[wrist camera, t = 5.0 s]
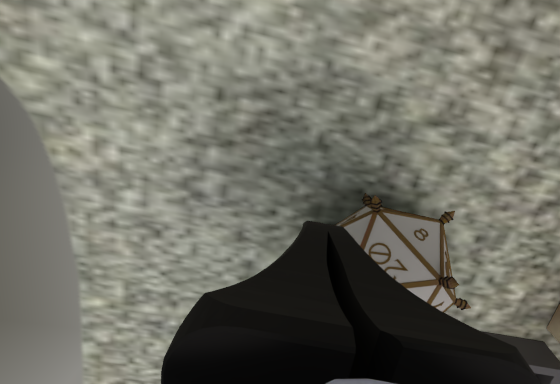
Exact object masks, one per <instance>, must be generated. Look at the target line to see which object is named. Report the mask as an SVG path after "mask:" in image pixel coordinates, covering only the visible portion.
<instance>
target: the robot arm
mask: <svg viewBox="0 0 560 384" xmlns="http://www.w3.org/2000/svg"><path fill="white" fill-rule="evenodd" d="M161 384H542V383H541V382H540V381H539V379H538V378H537V376H536V375H535V373H534V372H533V371H532V369H531V368H530V366H529V365H528V363H527V362H526V360H525V359H524V358H523V356H522V355H521V353H520V352H519V351H518V349H517V348H516V347H515V346H513V345H511V344H508V343H506V342H504V341H501V340H499V339H497V338H495V337H492V336H490V335H488V334H485V333H483V332H481V331H479V330H476V329H474V328H472V327H470V326H468V325H466V324H464V323H462V322H460V321H459V320H457V319H455V318H453V317H451V316H449V315H447V314H445V313H444V312H442V311H440V310H438V309H437V308H435V307H433V306H432V305H430V304H429V303H427V302H426V301H424V300H422V299H421V298H419V297H418V296H416V295H415V294H413V293H412V292H411V291H409V290H408V289H406V288H405V287H404V286H403V285H401V284H400V283H399V282H397V281H396V280H395V279H394V278H392V277H391V276H390V275H389V274H388V273H387V272H385V271H384V270H383V269H382V268H381V267H380V266H379V265H378V264H377V263H376V262H375V261H374V260H373V259H372V258H371V257H370V256H369V255H368V254H367V253H366V252H365V251H364V250H363V249H362V248H361V246H360V245H359V244H358V243H357V242H356V241H355V240H354V238H353V237H352V236H351V235H350V234H349V233H348V231H347V230H346V229H345V228H344V227H342V226H336V225H330V224H324V223H318V222H312V221H306V222H305V223H303V228H302V230H301V232H300V234H299V235H298V237H297V238H296V239H295V241H294V242H293V243H292V245H291V246H290V247H289V248H288V249H287V250H286V251H285V252H284V253H283V254H282V255H281V256H280V257H279V258H278V259H277V260H276V261H275V262H274V263H272V264H271V265H270V266H269V267H267V268H266V269H264V270H263V271H261V272H260V273H258V274H257V275H255V276H253V277H251V278H249V279H247V280H245V281H242V282H240V283H237V284H235V285H232V286H229V287H226V288H222V289H219V290H215V291H212V292H207V293H205V294H204V295H203V296H202V297H201V298H200V299H199V300H198V302H197V303H196V304H195V306H194V307H193V308H192V310H191V311H190V312H189V314H188V315H187V317H186V318H185V320H184V321H183V323H182V324H181V326H180V327H179V329H178V331H177V333H176V334H175V336H174V338H173V340H172V343H171V345H170V347H169V349H168V351H167V353H166V355H165V357H164V361H163V366H162V371H161Z"/></svg>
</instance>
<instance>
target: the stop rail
mask: <svg viewBox="0 0 560 384" xmlns="http://www.w3.org/2000/svg"><path fill="white" fill-rule="evenodd" d="M547 329H548V330H549V332H550V333H551V334H552V335H553V336H554V337H555V339H556V340H557V341H558V342H559V343H560V304H559V306H558V308H557V310H556V312H555V314H554V315H553V317H552V319H551V321H550V323H549V325H548V327H547Z"/></svg>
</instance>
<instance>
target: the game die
mask: <svg viewBox="0 0 560 384" xmlns="http://www.w3.org/2000/svg"><path fill="white" fill-rule="evenodd" d="M362 201H363V204H365V206H364V207H363V208H361V209H360V210H358V211H356V212H355V213H353V214H352V215H350V216H348V217H347V218H345V219H344V220H342V221H340V222H339V223H337V224H336V226H342V227H344V228H345V229H346V230H347V231H348V233H349V234H350V235H351V236H352V237H353V238H354V240H355V241H356V242H357V243H358V244H359V245H360V246H361V248H362V249H363V250H364V251H365V252H366V253H367V254H368V255H369V256H370V257H371V258H372V259H373V260H374V261H375V262H376V263H377V264H378V265H379V266H380V267H381V268H382V269H383V270H384V271H385V272H387V273H388V274H389V275H390V276H391V277H392V278H394V279H395V280H396V281H397V282H399V283H400V284H401V285H403V286H404V287H405V288H406V289H408V290H409V291H411V292H412V293H413V294H415V295H416V296H418V297H419V298H421V299H422V300H424V301H426V302H427V303H429V304H430V305H432V306H433V307H435V308H437V309H438V310H440V311H442V312H445V311H446V310H447V309H448V308H450V307H451V306H452V305H453V304H455V305H456V306H457V308H461V310H463V309H468V308H471V307H470V306H469V305H468V303H467V301H466V300H462V299H461V298H459V299H457V298H456V296H455V290H454V289H455V287H457V286H458V285H459V284H458V283H457V281H456V280H455V279H454V278H453V277H452V272H451V266H450V260H449V254H448V248H447V242H446V236H445V230H444V224H445V223H447V222H448V223H449V221H450V220H453V216H454V212H455V211H451V212H445V213H444V214H443V215H441V218H440V219H439V220H438V219H433V218H429V217H424V216H420V215H415V214H411V213H406V212H402V211H397V210H392V209H388V208H383V207H382V205H381V203H382V201H381V200H380V199H379V198H378V197H377V196H376V195H375V196H374V197H373V199H371V197H370V196H368V195H367V194H366V193H365V196H364V197H363V199H362Z"/></svg>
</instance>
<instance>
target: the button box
mask: <svg viewBox="0 0 560 384" xmlns="http://www.w3.org/2000/svg"><path fill="white" fill-rule="evenodd" d="M483 333H485V334H488V335H490V336H492V337H495V338H497V339H499V340H501V341H504V342H506V343H508V344H511V345H513V346H515V347H516V348H517V349H518V351H519V352H520V353H521V355H522V356H523V358H524V359H525V360H526V362H527V363H528V365H529V366H530V368H531V369H532V371H533V372H534V373H535V375H536V376H537V378H538V379H539V381H540V382H541V383H542V384H560V361H559V360H558V359H557V358H556V356H555V355H554V354H553V353H552V351H551V350H550V349H549V348H548V346H547V345H546V344H545V343H544V342H541V341H535V340H529V339H523V338H517V337H511V336H505V335H499V334H493V333H487V332H483Z"/></svg>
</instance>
